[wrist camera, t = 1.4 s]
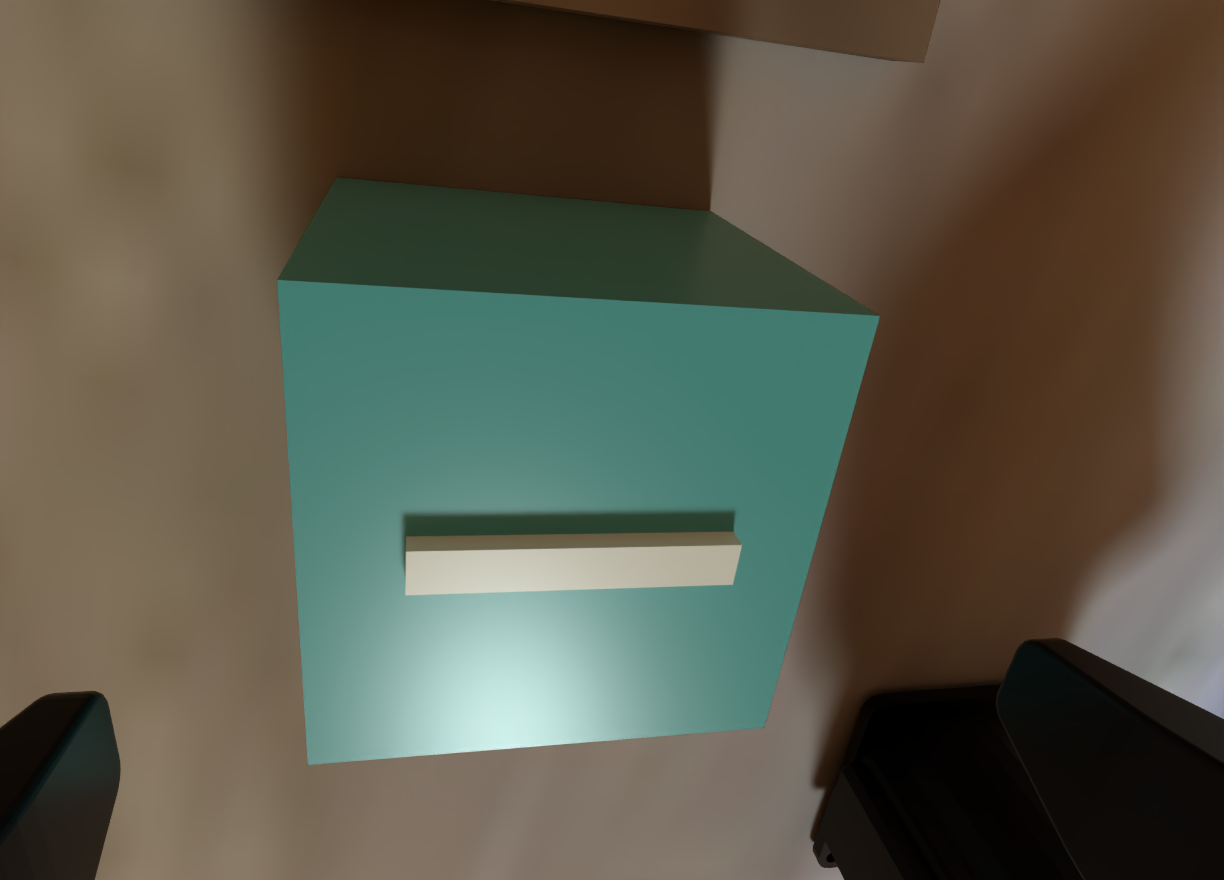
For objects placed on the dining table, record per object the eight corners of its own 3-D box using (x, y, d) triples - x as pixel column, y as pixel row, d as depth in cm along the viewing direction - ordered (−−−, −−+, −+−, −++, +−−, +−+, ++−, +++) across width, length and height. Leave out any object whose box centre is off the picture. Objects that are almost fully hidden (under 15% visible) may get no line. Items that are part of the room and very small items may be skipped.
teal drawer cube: (711, 210, 14) (893, 324, 9) (658, 513, 17) (772, 743, 11) (336, 177, 13) (271, 289, 7) (346, 516, 15) (305, 784, 10)
